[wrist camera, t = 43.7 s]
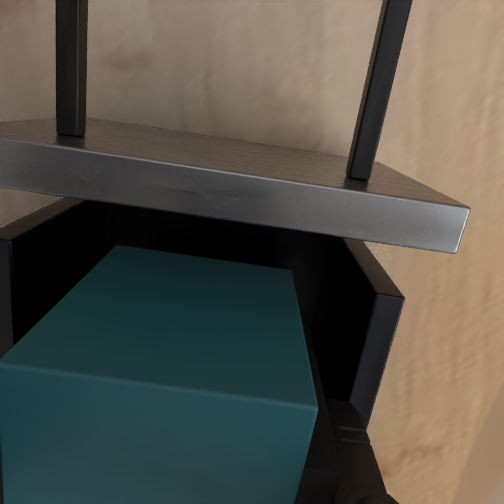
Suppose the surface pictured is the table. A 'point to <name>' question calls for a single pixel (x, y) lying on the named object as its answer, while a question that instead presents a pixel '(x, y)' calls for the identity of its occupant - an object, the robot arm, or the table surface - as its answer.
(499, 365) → the table surface
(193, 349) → the block
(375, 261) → the drawer
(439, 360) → the table surface
